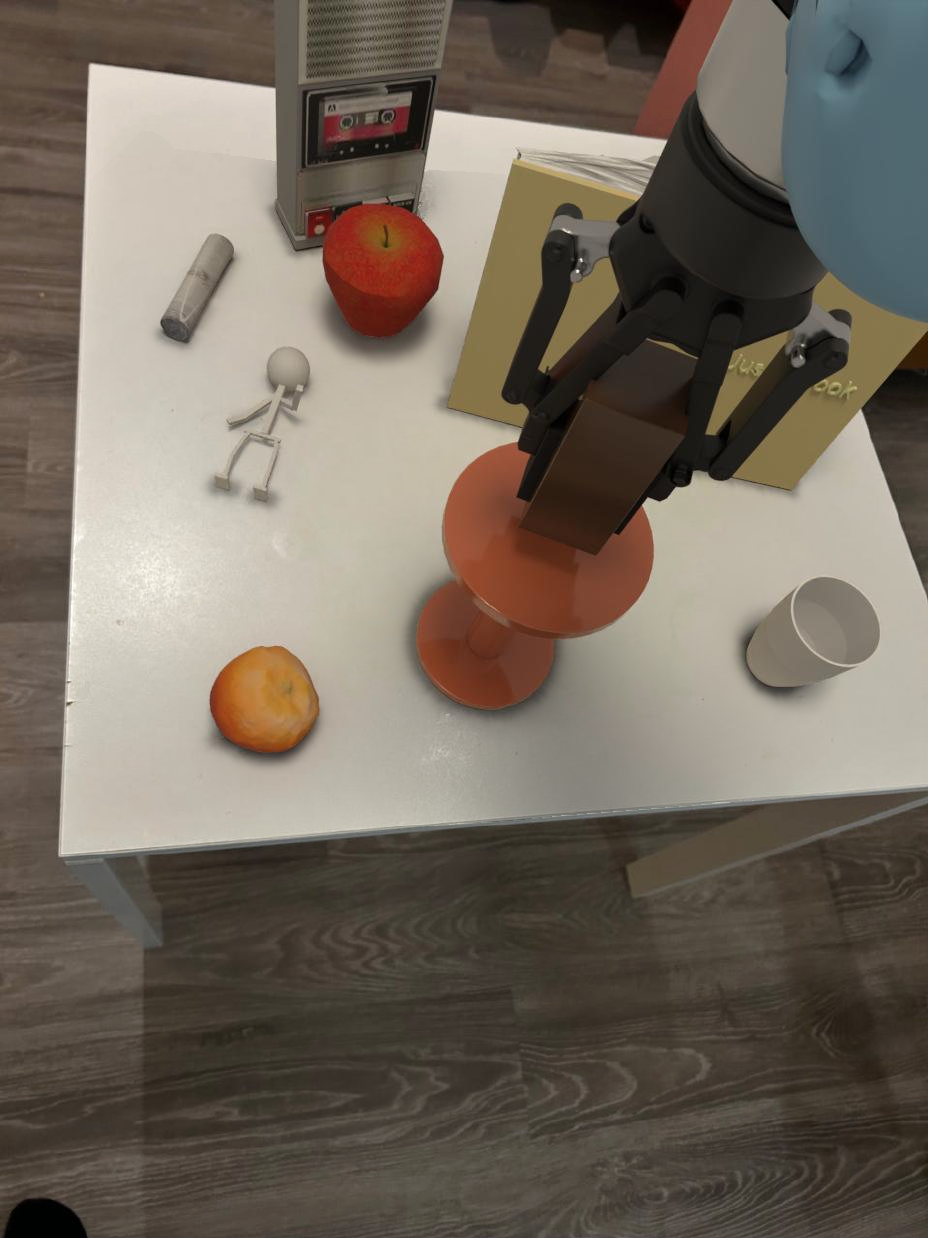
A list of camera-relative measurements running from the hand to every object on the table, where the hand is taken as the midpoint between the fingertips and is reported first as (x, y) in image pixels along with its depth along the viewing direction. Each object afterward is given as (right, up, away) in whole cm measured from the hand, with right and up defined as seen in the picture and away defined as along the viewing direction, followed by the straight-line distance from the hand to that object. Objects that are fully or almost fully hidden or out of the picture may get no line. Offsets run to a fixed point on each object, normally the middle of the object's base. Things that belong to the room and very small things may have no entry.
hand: (573, 497), depth 48 cm
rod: (-32, +24, +31) cm, 50 cm away
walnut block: (0, 0, +1) cm, 1 cm away
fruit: (-22, -15, +16) cm, 31 cm away
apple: (-15, +22, +34) cm, 43 cm away
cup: (+22, -11, +27) cm, 37 cm away
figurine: (-25, +10, +26) cm, 38 cm away
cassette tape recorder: (-19, +35, +38) cm, 55 cm away
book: (+10, +12, +35) cm, 38 cm away
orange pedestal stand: (-5, -9, +22) cm, 25 cm away
